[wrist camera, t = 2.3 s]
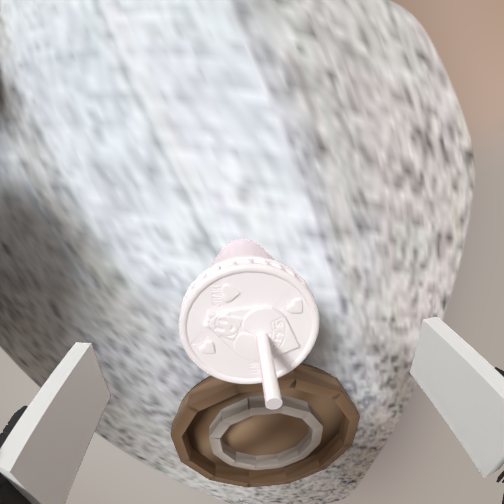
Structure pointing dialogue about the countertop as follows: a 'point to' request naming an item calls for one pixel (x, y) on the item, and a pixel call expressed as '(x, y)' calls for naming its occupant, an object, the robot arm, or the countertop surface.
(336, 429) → the tray
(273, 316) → the smoothie
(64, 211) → the countertop surface
